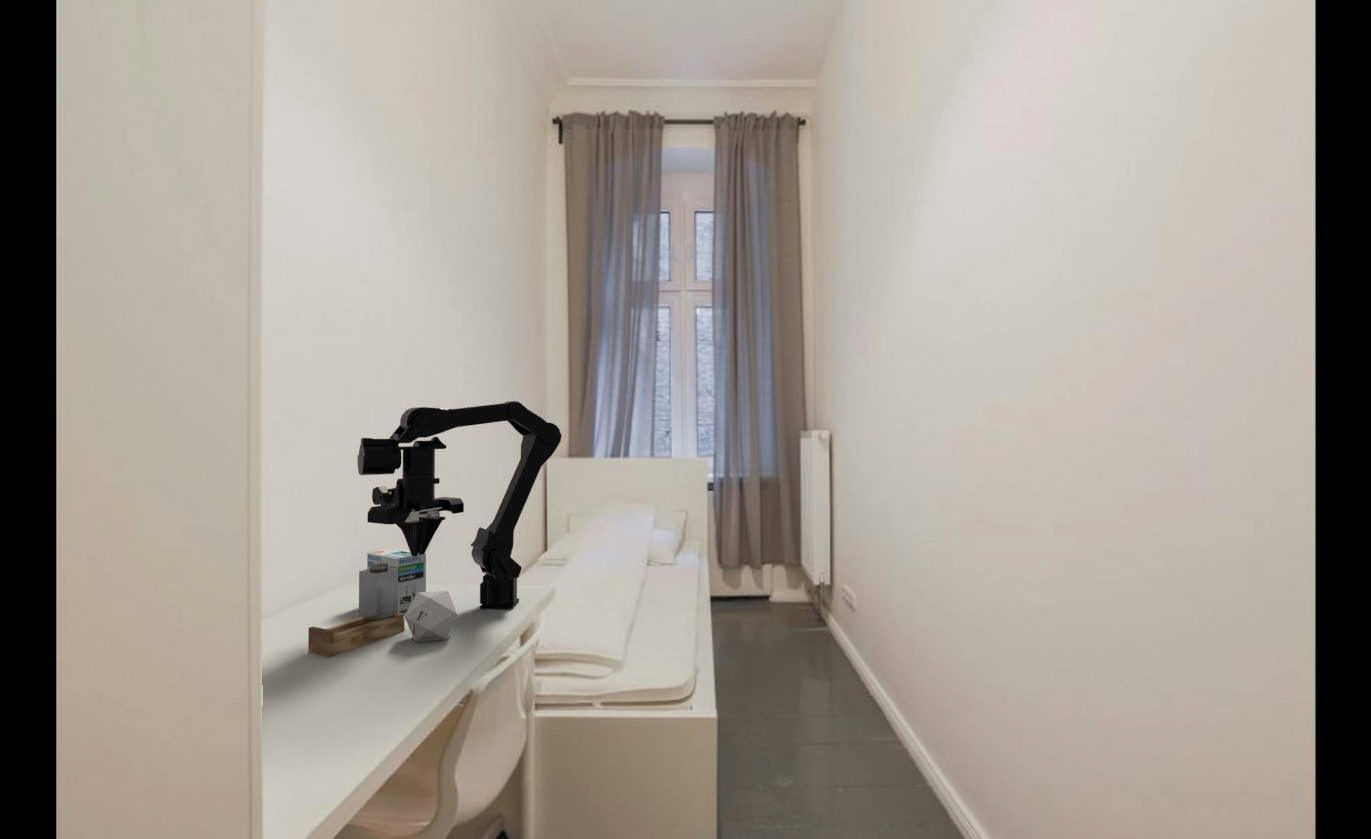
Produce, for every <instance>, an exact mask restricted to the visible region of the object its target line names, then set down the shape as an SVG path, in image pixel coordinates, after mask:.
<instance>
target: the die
mask: <svg viewBox="0 0 1371 839" xmlns="http://www.w3.org/2000/svg"><path fill="white" fill-rule="evenodd" d="M404 618H405V621H406V623H407V625H408V628H409V629H408V630H409V631H410V633H411V635H412V638H413V641H414V642H415V643H416V642H419V643H420V642H429V641H445V640H447V638H448V637H449V635H450V633H451V631H452V628H453V626H454V624H455V622H456V620H457V618H458V613H457V610H456V608H455V605H454V603H453V600H452V597H451V595H450V592H449V590H440V591H426V592H419V593H417V594H416V596H415V598H414V600H413V602H412V603H411V605H410V607H409V609H408V610H406V613H405V614H404Z"/></svg>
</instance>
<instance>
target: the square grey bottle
mask: <svg viewBox="0 0 1371 839" xmlns="http://www.w3.org/2000/svg"><path fill="white" fill-rule="evenodd" d="M398 613H399V612H398V569H397V568H389V567H388V563H384V562H380V563H372V564H370V565H369V569H362V570H359V573H358V618H366V623H370V622H373V621H376V620H380V619H383V618H386V617H389V616H392V615H395V614H398Z"/></svg>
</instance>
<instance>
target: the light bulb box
mask: <svg viewBox="0 0 1371 839" xmlns="http://www.w3.org/2000/svg"><path fill="white" fill-rule="evenodd" d="M366 554H367V556H366V565H367V566H366V567H367V569H369V565H370V564H372V563H380V562H384V563H388V567H389V568H397V569H398V613H402V612H405V611H408V609H409V607H410V605H411V603H412V602H413V600H414V598H415V596H416V594H417V593H419V592H427V553H426V552H425V554H424V555H419V554H418V556H412V555H411V552H410V550H405V549H401V548H400V549H398V548H395V547H394V548H388V549H382V550H376V551H369V552H366Z"/></svg>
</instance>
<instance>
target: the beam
mask: <svg viewBox="0 0 1371 839" xmlns="http://www.w3.org/2000/svg"><path fill="white" fill-rule="evenodd" d="M404 618H405V614H404V613H402V612H398V614H395V615H392V616H389V617H386V618H383V619H380V620H376V621H373V622H370V623H366V618H361V617H358V618H356V619H353V620H350V621H348V622H344V623H340V624H337V625H334V626H331V627H328V628H323V627H317V626H310V627H308V638H307V639H308V640H307V642H308V648H307V650H308V652H307V653H309V654H313V653H314V654H315V655H319V656H323V657H327V658H331V657H334V656H337V655H340V654H342V653H345V652H349V651H351V650H354V649H357V648H359V647H362V646H365V645H368V644H371V643H373V642H376V641H378V640H382V639H384V638H387V637H390V636H393V635H396V634H398V633H401V632H405V621H406V619H404Z"/></svg>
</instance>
